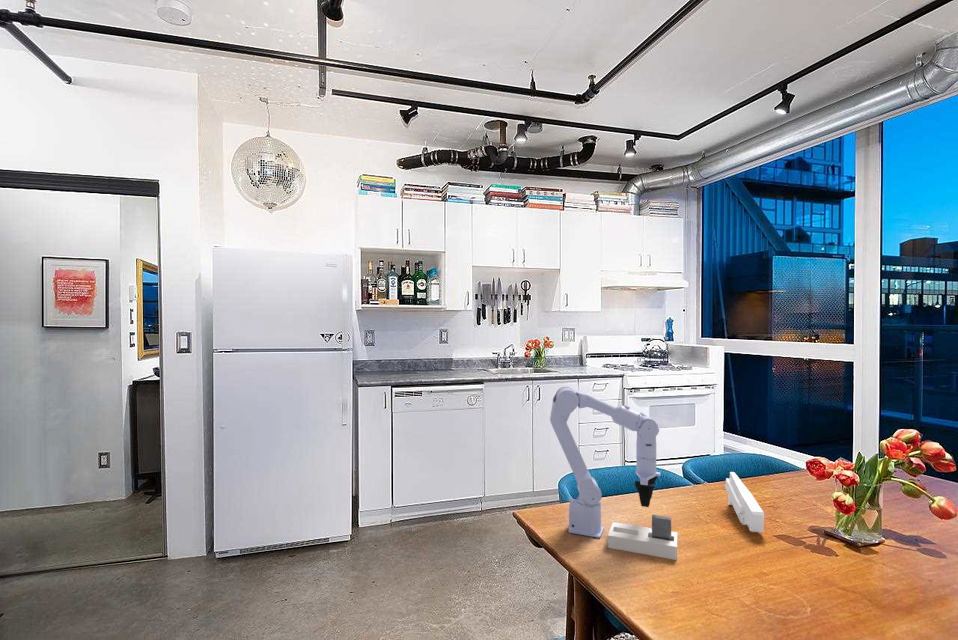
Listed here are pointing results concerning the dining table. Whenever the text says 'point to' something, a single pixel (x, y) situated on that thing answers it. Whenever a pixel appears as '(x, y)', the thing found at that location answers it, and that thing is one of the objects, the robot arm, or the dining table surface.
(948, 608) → the dining table surface
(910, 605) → the dining table surface
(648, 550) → the white board with holes
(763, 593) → the dining table surface
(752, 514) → the shelf bracket
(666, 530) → the gray rectangular block
